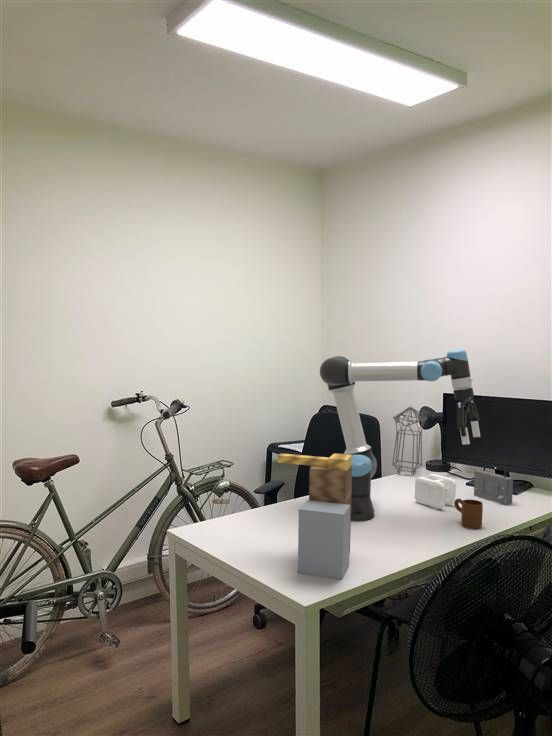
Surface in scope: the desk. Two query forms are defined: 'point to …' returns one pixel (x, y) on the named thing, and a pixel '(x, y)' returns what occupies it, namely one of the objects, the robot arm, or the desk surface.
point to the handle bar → (318, 461)
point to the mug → (470, 513)
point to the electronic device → (493, 486)
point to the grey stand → (323, 539)
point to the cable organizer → (435, 491)
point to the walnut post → (330, 486)
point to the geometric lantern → (408, 434)
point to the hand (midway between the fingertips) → (471, 440)
